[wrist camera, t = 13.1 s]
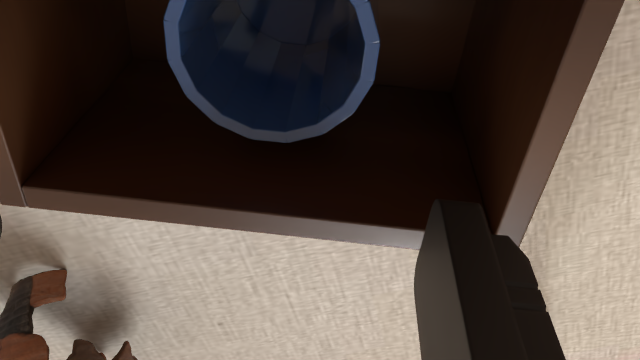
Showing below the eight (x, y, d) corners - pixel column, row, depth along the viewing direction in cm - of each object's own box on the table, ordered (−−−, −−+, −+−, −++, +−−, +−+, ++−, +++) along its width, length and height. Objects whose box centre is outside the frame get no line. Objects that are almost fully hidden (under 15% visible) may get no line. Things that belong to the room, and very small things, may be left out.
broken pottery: (101, 249, 34) (108, 378, 30) (152, 289, 43) (163, 394, 39) (-83, 297, 34) (-100, 435, 30) (6, 328, 42) (1, 439, 38)
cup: (192, -35, 22) (120, 35, 15) (305, -150, 19) (275, -122, 13) (293, 74, 24) (267, 173, 18) (404, -13, 22) (421, 67, 15)
